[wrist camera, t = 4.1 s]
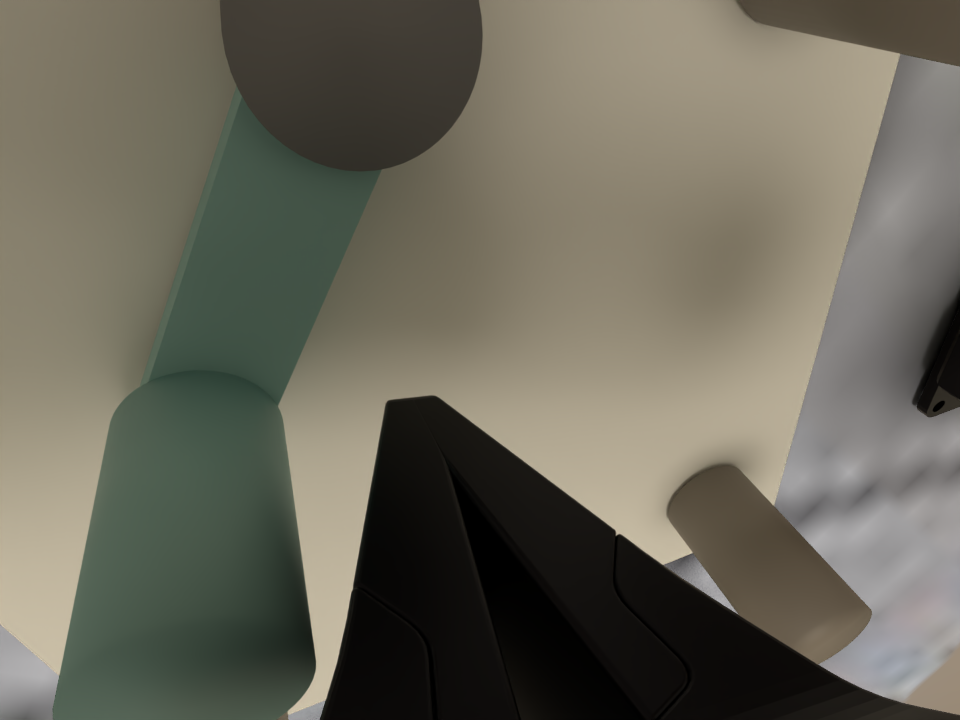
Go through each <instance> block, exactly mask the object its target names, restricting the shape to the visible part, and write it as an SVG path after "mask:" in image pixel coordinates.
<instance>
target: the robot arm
mask: <svg viewBox="0 0 960 720" xmlns="http://www.w3.org/2000/svg"><path fill="white" fill-rule="evenodd" d="M957 407H960V307H959V309H958V312H957V314H956V316H955V319H954V321H953V323H952V326H951V328H950V330H949V332H948V335H947V337H946V339H945V342H944V344H943V346H942V349H941V351H940V353H939V355H938V358H937V360H936V362H935V365H934V367H933V369H932V372H931V374H930V376H929V378H928V381H927V383H926V385H925V388H924V390H923V392H922V395H921V397H920V399H919V401H918V404H917V409H918V410H919V411H920V412H922V413H923V414H925V415H926V416H927V417H934V416H937V415H939V414H942V413H944V412H947V411H950V410H952V409H955V408H957ZM320 720H960V715H956V714H951V713H947V712H942V711H937V710H932V709H927V708H923V707H918V706H914V705H909V704H905V703H901V702H898V701H895V700H891V699H888V698H885V697H882V696H879V695H877V694H875V693H872V692H870V691H867V690H865V689H862V688H860V687H858V686H856V685H854V684H852V683H850V682H848V681H846V680H844V679H842V678H840V677H838V676H837V675H835V674H833V673H831V672H830V671H828V670H826V669H825V668H823V667H821V666H820V665H818V664H816V663H815V662H813V661H812V660H810V659H808V658H807V657H805V656H804V655H802V654H800V653H799V652H797V651H796V650H794V649H792V648H791V647H789V646H788V645H786V644H784V643H783V642H781V641H780V640H778V639H776V638H775V637H773V636H772V635H770V634H768V633H767V632H765V631H764V630H762V629H760V628H759V627H757V626H756V625H754V624H752V623H751V622H749V621H748V620H746V619H744V618H743V617H741V616H740V615H738V614H737V613H735V612H733V611H732V610H730V609H729V608H727V607H725V606H724V605H722V604H721V603H719V602H718V601H716V600H714V599H713V598H711V597H710V596H708V595H707V594H705V593H704V592H702V591H701V590H699V589H698V588H696V587H695V586H693V585H692V584H690V583H688V582H687V581H685V580H684V579H682V578H681V577H679V576H678V575H677V574H675V573H674V572H672V571H671V570H670V569H668V568H667V567H665V566H664V565H663V564H661V563H660V562H658V561H657V560H656V559H654V558H653V557H651V556H650V555H649V554H647V553H646V552H644V551H643V550H642V549H640V548H639V547H638V546H636V545H635V544H634V543H632V542H631V541H630V540H628V539H627V538H626V537H624V536H623V535H622V534H618V535H616V531H615V529H613V528H612V527H611V526H609V525H608V524H607V523H605V522H604V521H603V520H601V519H600V518H599V517H597V516H596V515H595V514H593V513H592V512H591V511H589V510H588V509H587V508H585V507H584V506H583V505H581V504H580V503H579V502H577V501H576V500H575V499H573V498H572V497H571V496H569V495H568V494H567V493H566V492H564V491H563V490H562V489H560V488H559V487H558V486H556V485H555V484H554V483H552V482H551V481H550V480H548V479H547V478H546V477H544V476H543V475H542V474H540V473H539V472H538V471H536V470H535V469H534V468H532V467H531V466H530V465H528V464H527V463H526V462H524V461H523V460H522V459H520V458H519V457H518V456H516V455H515V454H514V453H512V452H511V451H510V450H508V449H507V448H506V447H504V446H503V445H502V444H500V443H499V442H498V441H496V440H495V439H494V438H492V437H491V436H490V435H488V434H487V433H486V432H484V431H483V430H482V429H480V428H479V427H478V426H476V425H475V424H474V423H472V422H471V421H470V420H468V419H467V418H466V417H464V416H463V415H462V414H460V413H459V412H458V411H456V410H455V409H454V408H452V407H451V406H450V405H448V404H447V403H446V402H444V401H443V400H442V399H440V398H439V397H437V396H435V395H428V396H419V397H410V398H401V399H392V400H388V401H387V402H386V404H385V409H384V415H383V420H382V426H381V431H380V437H379V442H378V448H377V454H376V459H375V465H374V470H373V476H372V481H371V487H370V493H369V498H368V504H367V509H366V515H365V521H364V526H363V532H362V537H361V543H360V548H359V554H358V560H357V565H356V571H355V576H354V582H353V590H352V592H351V596H350V602H349V608H348V613H347V619H346V624H345V628H344V633H343V637H342V642H341V646H340V651H339V655H338V660H337V664H336V668H335V671H334V674H333V678H332V681H331V684H330V688H329V691H328V694H327V698H326V701H325V704H324V708H323V711H322V714H321V717H320Z"/></svg>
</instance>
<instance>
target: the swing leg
mask: <svg viewBox="0 0 960 720" xmlns="http://www.w3.org/2000/svg"><path fill="white" fill-rule="evenodd" d="M220 16H221V31H222V38H223V44H224V50H225V55H226V58H227V61H228V65H229V68H230V72H231V74H232V76H233V79H234V81H235V83H236V89H235V92H234V95H233V98H232V101H231V105H230V108H229V111H228V114H227V117H226V120H225V123H224V126H223V129H222V132H221V136H220V139H219V142H218V145H217V148H216V151H215V154H214V157H213V160H212V163H211V167H210V170H209V173H208V176H207V179H206V182H205V185H204V188H203V191H202V194H201V198H200V201H199V204H198V207H197V210H196V213H195V216H194V219H193V222H192V225H191V229H190V232H189V235H188V238H187V241H186V244H185V247H184V250H183V253H182V256H181V260H180V263H179V266H178V269H177V272H176V275H175V278H174V281H173V284H172V287H171V290H170V294H169V297H168V300H167V303H166V306H165V309H164V312H163V315H162V318H161V321H160V325H159V328H158V331H157V334H156V337H155V340H154V343H153V346H152V349H151V352H150V356H149V359H148V362H147V365H146V368H145V371H144V374H143V377H142V380H141V383H140V387H139V388H137V389H135V390H134V391H133V392H131V393H130V394H129V395H128V396H127V397H126V398H125V399H124V400H123V401H122V402H121V403H120V404H119V406H118V407H117V409H116V410H115V412H114V414H113V416H112V418H111V421H110V425H109V430H108V435H107V440H106V445H105V450H104V455H103V460H102V465H101V470H100V475H99V480H98V485H97V490H96V495H95V500H94V505H93V510H92V515H91V520H90V525H89V530H88V535H87V540H86V545H85V550H84V555H83V560H82V565H81V570H80V575H79V580H78V585H77V590H76V595H75V600H74V605H73V610H72V615H71V620H70V625H69V630H68V635H67V640H66V645H65V650H64V655H63V660H62V665H61V670H60V675H59V680H58V685H57V690H56V695H55V700H54V705H53V720H277V719H278V718H279V717H281V716H282V715H283V714H285V713H286V712H287V711H288V710H290V709H291V708H292V707H293V706H294V705H295V704H296V703H297V702H298V701H299V700H300V699H301V698H302V697H303V695H304V694H305V693H306V691H307V690H308V688H309V687H310V685H311V683H312V681H313V678H314V675H315V671H316V657H315V649H314V642H313V635H312V628H311V620H310V613H309V606H308V598H307V591H306V584H305V576H304V569H303V562H302V554H301V547H300V540H299V532H298V525H297V518H296V510H295V503H294V496H293V488H292V481H291V474H290V467H289V459H288V452H287V445H286V437H285V430H284V423H283V418H282V415H281V412H280V410H279V408H278V405H279V403H280V400H281V398H282V396H283V394H284V391H285V389H286V387H287V385H288V382H289V380H290V378H291V375H292V373H293V371H294V369H295V366H296V364H297V362H298V359H299V357H300V355H301V353H302V350H303V348H304V346H305V343H306V341H307V339H308V337H309V334H310V332H311V330H312V328H313V325H314V323H315V321H316V318H317V316H318V314H319V312H320V309H321V307H322V305H323V302H324V300H325V298H326V296H327V293H328V291H329V289H330V286H331V284H332V282H333V280H334V277H335V275H336V273H337V271H338V268H339V266H340V264H341V261H342V259H343V257H344V255H345V252H346V250H347V248H348V245H349V243H350V241H351V239H352V236H353V234H354V232H355V230H356V227H357V225H358V223H359V220H360V218H361V216H362V214H363V211H364V209H365V207H366V204H367V202H368V200H369V198H370V195H371V193H372V191H373V188H374V186H375V184H376V182H377V179H378V177H379V175H380V173H381V170H382V169H386V168H391V167H394V166H397V165H400V164H403V163H405V162H407V161H409V160H411V159H413V158H416V157H418V156H419V155H421V154H422V153H424V152H425V151H427V150H428V149H430V148H431V147H432V146H433V145H434V144H436V143H437V142H438V141H439V140H440V139H441V138H442V137H443V136H444V135H445V134H446V133H447V132H448V131H449V130H450V129H451V128H452V126H453V125H454V123H455V122H456V121H457V119H458V118H459V116H460V115H461V113H462V111H463V110H464V108H465V106H466V104H467V102H468V101H469V98H470V96H471V93H472V91H473V88H474V86H475V82H476V79H477V75H478V72H479V67H480V61H481V55H482V39H483V31H482V16H481V10H480V5H479V0H220Z"/></svg>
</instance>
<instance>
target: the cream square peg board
mask: <svg viewBox="0 0 960 720" xmlns="http://www.w3.org/2000/svg"><path fill="white" fill-rule="evenodd" d="M479 5H480V10H481V16H482V31H483V39H482V55H481V61H480V67H479V72H478V75H477V79H476V82H475V86H474V88H473V91H472V93H471V96H470V98H469V101H468V102H467V104H466V106H465V108H464V110H463V111H462V113H461V115H460V116H459V118H458V119H457V121H456V122H455V123H454V125H453V126H452V128H451V129H450V130H449V131H448V132H447V133H446V134H445V135H444V136H443V137H442V138H441V139H440V140H439V141H438V142H437V143H436V144H434V145H433V146H432V147H431V148H430V149H428V150H427V151H425V152H424V153H422V154H421V155H419V156H418V157H416V158H413V159H411V160H409V161H407V162H405V163H403V164H400V165H397V166H394V167H391V168H386V169H382V170H381V173H380V175H379V177H378V179H377V182H376V184H375V186H374V188H373V191H372V193H371V195H370V198H369V200H368V202H367V204H366V207H365V209H364V211H363V214H362V216H361V218H360V220H359V223H358V225H357V227H356V230H355V232H354V234H353V236H352V239H351V241H350V243H349V245H348V248H347V250H346V252H345V255H344V257H343V259H342V261H341V264H340V266H339V268H338V271H337V273H336V275H335V277H334V280H333V282H332V284H331V286H330V289H329V291H328V293H327V296H326V298H325V300H324V302H323V305H322V307H321V309H320V312H319V314H318V316H317V318H316V321H315V323H314V325H313V328H312V330H311V332H310V334H309V337H308V339H307V341H306V343H305V346H304V348H303V350H302V353H301V355H300V357H299V359H298V362H297V364H296V366H295V369H294V371H293V373H292V375H291V378H290V380H289V382H288V385H287V387H286V389H285V391H284V394H283V396H282V398H281V400H280V403H279V405H278V408H279V410H280V412H281V415H282V418H283V423H284V430H285V437H286V445H287V452H288V459H289V467H290V474H291V481H292V488H293V496H294V503H295V510H296V518H297V525H298V532H299V540H300V547H301V554H302V562H303V569H304V576H305V584H306V591H307V598H308V606H309V613H310V620H311V628H312V635H313V642H314V649H315V657H316V671H315V675H314V678H313V681H312V683H311V685H310V687H309V688H308V690H307V691H306V693H305V694H304V695H303V697H302V698H301V699H300V700H299V701H298V702H297V703H296V704H295V705H294V706H293V707H292V708H291V709H290V710H288V711H287V712H286V713H285V714H283V715H282V716H281V717H279V718H278V719H277V720H288V715H289V714H292V713H294V712H297V711H299V710H302V709H304V708H307V707H309V706H312V705H314V704H317V703H319V702H322V701H324V700H326V698H327V694H328V691H329V688H330V684H331V681H332V678H333V674H334V671H335V668H336V664H337V660H338V655H339V651H340V646H341V642H342V637H343V633H344V628H345V624H346V619H347V613H348V608H349V602H350V596H351V592H352V590H353V582H354V576H355V571H356V565H357V560H358V554H359V548H360V543H361V537H362V532H363V526H364V521H365V515H366V509H367V504H368V498H369V493H370V487H371V481H372V476H373V470H374V465H375V459H376V454H377V448H378V442H379V437H380V431H381V426H382V420H383V415H384V409H385V404H386V402H387V401H388V400H392V399H401V398H410V397H419V396H428V395H435V396H437V397H439V398H440V399H442V400H443V401H444V402H446V403H447V404H448V405H450V406H451V407H452V408H454V409H455V410H456V411H458V412H459V413H460V414H462V415H463V416H464V417H466V418H467V419H468V420H470V421H471V422H472V423H474V424H475V425H476V426H478V427H479V428H480V429H482V430H483V431H484V432H486V433H487V434H488V435H490V436H491V437H492V438H494V439H495V440H496V441H498V442H499V443H500V444H502V445H503V446H504V447H506V448H507V449H508V450H510V451H511V452H512V453H514V454H515V455H516V456H518V457H519V458H520V459H522V460H523V461H524V462H526V463H527V464H528V465H530V466H531V467H532V468H534V469H535V470H536V471H538V472H539V473H540V474H542V475H543V476H544V477H546V478H547V479H548V480H550V481H551V482H552V483H554V484H555V485H556V486H558V487H559V488H560V489H562V490H563V491H564V492H566V493H567V494H568V495H569V496H571V497H572V498H573V499H575V500H576V501H577V502H579V503H580V504H581V505H583V506H584V507H585V508H587V509H588V510H589V511H591V512H592V513H593V514H595V515H596V516H597V517H599V518H600V519H601V520H603V521H604V522H605V523H607V524H608V525H609V526H611V527H612V528H613V529H615V531H616V535H618V534H622V535H623V536H624V537H626V538H627V539H628V540H630V541H631V542H632V543H634V544H635V545H636V546H638V547H639V548H640V549H642V550H643V551H644V552H646V553H647V554H649V555H650V556H651V557H653V558H654V559H656V560H657V561H658V562H660V563H661V564H663V565H664V564H666V563H669V562H671V561H674V560H676V559H679V558H681V557H684V556H686V555H689V554H691V553H693V554H694V555H695V556H696V558H697V559H698V560H699V562H700V563H701V564H702V566H703V567H704V568H705V570H706V571H707V572H708V574H709V575H710V577H711V578H712V579H713V581H714V582H715V583H716V585H717V586H718V587H719V589H720V590H721V591H722V593H723V594H724V595H725V597H726V598H727V599H728V601H729V602H730V603H731V605H732V606H733V607H734V609H735V610H736V612H737V613H738V614H739V615H740V616H741V617H743V618H744V619H746V620H748V621H749V622H751V623H752V624H754V625H756V626H757V627H759V628H760V629H762V630H764V631H765V632H767V633H768V634H770V635H772V636H773V637H775V638H776V639H778V640H780V641H781V642H783V643H784V644H786V645H788V646H789V647H791V648H792V649H794V650H796V651H797V652H799V653H800V654H802V655H804V656H805V657H807V658H808V659H810V660H812V661H813V662H815V663H816V664H820V663H821V662H823V661H825V660H827V659H828V658H830V657H832V656H833V655H835V654H836V653H838V652H839V651H840V650H842V649H843V648H844V647H846V646H847V645H848V644H849V643H851V642H852V641H853V640H854V639H855V638H856V637H857V636H858V635H859V634H860V633H861V632H862V631H863V630H864V628H865V627H866V626H867V624H868V622H869V621H870V618H871V615H872V611H871V609H870V608H869V607H868V606H867V605H866V604H865V603H864V602H863V601H862V600H861V599H860V597H859V596H858V595H857V594H856V593H855V592H854V591H853V590H852V589H851V588H850V587H849V586H848V585H847V584H846V583H845V581H844V580H843V579H842V578H841V577H840V576H839V575H838V574H837V573H836V572H835V571H834V570H833V569H832V568H831V566H830V565H829V564H828V563H827V562H826V561H825V560H824V559H823V558H822V557H821V556H820V555H819V554H818V553H817V552H816V550H815V549H814V548H813V547H812V546H811V545H810V544H809V543H808V542H807V541H806V540H805V539H804V538H803V537H802V536H801V534H800V533H799V532H798V531H797V530H796V529H795V528H794V527H793V526H792V525H791V524H790V523H789V522H788V521H787V519H786V518H785V517H784V516H783V515H782V514H781V513H780V512H779V511H778V510H777V509H776V508H775V507H774V504H775V500H776V497H777V493H778V490H779V486H780V483H781V479H782V475H783V472H784V468H785V465H786V461H787V458H788V454H789V450H790V447H791V443H792V440H793V436H794V432H795V429H796V425H797V422H798V418H799V415H800V411H801V407H802V404H803V400H804V397H805V393H806V390H807V386H808V382H809V379H810V375H811V372H812V368H813V365H814V361H815V357H816V354H817V350H818V347H819V343H820V340H821V336H822V332H823V329H824V325H825V322H826V318H827V314H828V311H829V307H830V304H831V300H832V297H833V293H834V289H835V286H836V282H837V279H838V275H839V272H840V268H841V264H842V261H843V257H844V254H845V250H846V247H847V243H848V239H849V236H850V232H851V229H852V225H853V221H854V218H855V214H856V211H857V207H858V204H859V200H860V196H861V193H862V189H863V186H864V182H865V179H866V175H867V171H868V168H869V164H870V161H871V157H872V154H873V150H874V146H875V143H876V139H877V136H878V132H879V129H880V125H881V121H882V118H883V114H884V111H885V107H886V103H887V100H888V96H889V93H890V89H891V86H892V82H893V78H894V75H895V71H896V68H897V64H898V61H899V57H900V54H904V55H908V56H913V57H918V58H922V59H927V60H932V61H936V62H941V63H946V64H950V65H955V66H960V0H479ZM235 89H236V83H235V81H234V79H233V76H232V74H231V72H230V68H229V65H228V61H227V58H226V55H225V50H224V44H223V38H222V31H221V16H220V0H0V624H1V625H2V626H3V627H4V628H5V629H6V630H8V631H9V632H10V633H11V634H12V635H13V636H14V637H16V638H17V639H18V640H19V641H20V642H21V643H22V644H24V645H25V646H26V647H27V648H28V649H29V650H30V651H32V652H33V653H34V654H35V655H36V656H37V657H38V658H40V659H41V660H42V661H43V662H44V663H45V664H46V665H48V666H49V667H50V668H51V669H52V670H53V671H55V672H56V673H57V674H58V675H60V670H61V665H62V660H63V655H64V650H65V645H66V640H67V635H68V630H69V625H70V620H71V615H72V610H73V605H74V600H75V595H76V590H77V585H78V580H79V575H80V570H81V565H82V560H83V555H84V550H85V545H86V540H87V535H88V530H89V525H90V520H91V515H92V510H93V505H94V500H95V495H96V490H97V485H98V480H99V475H100V470H101V465H102V460H103V455H104V450H105V445H106V440H107V435H108V430H109V425H110V421H111V418H112V416H113V414H114V412H115V410H116V409H117V407H118V406H119V404H120V403H121V402H122V401H123V400H124V399H125V398H126V397H127V396H128V395H129V394H130V393H131V392H133V391H134V390H135V389H137V388H139V387H140V383H141V380H142V377H143V374H144V371H145V368H146V365H147V362H148V359H149V356H150V352H151V349H152V346H153V343H154V340H155V337H156V334H157V331H158V328H159V325H160V321H161V318H162V315H163V312H164V309H165V306H166V303H167V300H168V297H169V294H170V290H171V287H172V284H173V281H174V278H175V275H176V272H177V269H178V266H179V263H180V260H181V256H182V253H183V250H184V247H185V244H186V241H187V238H188V235H189V232H190V229H191V225H192V222H193V219H194V216H195V213H196V210H197V207H198V204H199V201H200V198H201V194H202V191H203V188H204V185H205V182H206V179H207V176H208V173H209V170H210V167H211V163H212V160H213V157H214V154H215V151H216V148H217V145H218V142H219V139H220V136H221V132H222V129H223V126H224V123H225V120H226V117H227V114H228V111H229V108H230V105H231V101H232V98H233V95H234V92H235Z"/></svg>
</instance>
